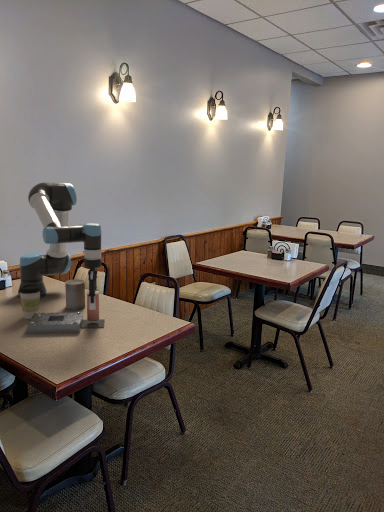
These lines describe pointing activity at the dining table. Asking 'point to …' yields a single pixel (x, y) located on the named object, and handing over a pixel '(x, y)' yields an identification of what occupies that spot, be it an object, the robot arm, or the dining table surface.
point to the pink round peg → (93, 314)
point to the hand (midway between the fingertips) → (93, 307)
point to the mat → (93, 324)
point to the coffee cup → (30, 299)
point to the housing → (55, 323)
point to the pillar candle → (75, 294)
